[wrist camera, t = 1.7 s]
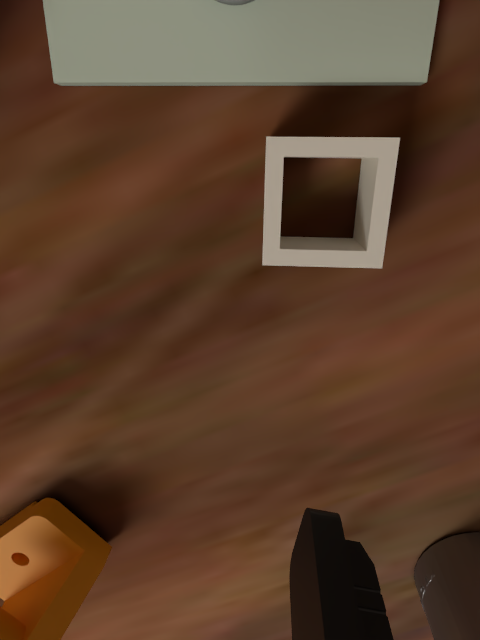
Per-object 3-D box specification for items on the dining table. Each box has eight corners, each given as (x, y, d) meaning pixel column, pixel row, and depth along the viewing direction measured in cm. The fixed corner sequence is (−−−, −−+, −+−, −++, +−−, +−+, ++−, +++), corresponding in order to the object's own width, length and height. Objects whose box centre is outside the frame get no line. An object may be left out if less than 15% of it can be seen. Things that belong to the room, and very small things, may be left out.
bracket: (55, 486, 35) (-49, 641, 23) (115, 538, 36) (45, 706, 25) (-20, 540, 38) (-143, 699, 26) (39, 586, 39) (-54, 754, 28)
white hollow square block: (379, 141, 23) (400, 137, 20) (366, 252, 26) (382, 268, 22) (267, 140, 24) (266, 136, 20) (263, 250, 26) (262, 265, 22)
